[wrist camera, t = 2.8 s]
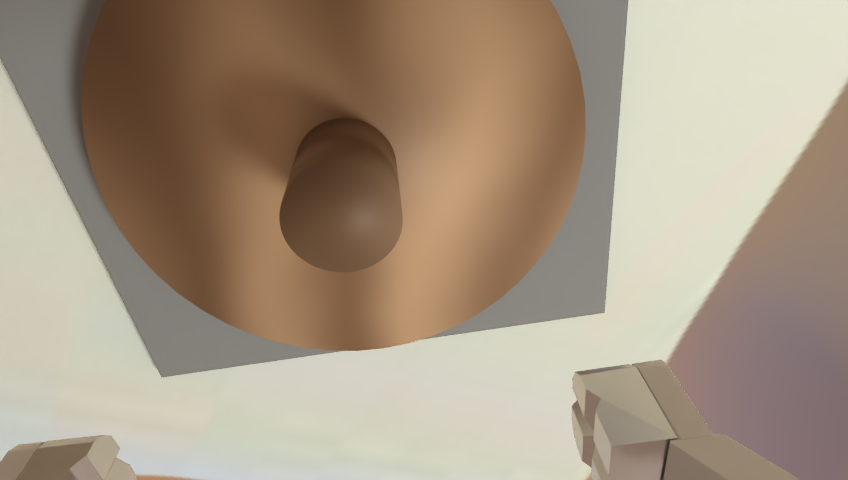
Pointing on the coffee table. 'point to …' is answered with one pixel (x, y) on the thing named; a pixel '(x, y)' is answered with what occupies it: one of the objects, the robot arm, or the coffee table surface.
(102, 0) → the mat
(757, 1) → the coffee table surface
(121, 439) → the coffee table surface
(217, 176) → the lid
